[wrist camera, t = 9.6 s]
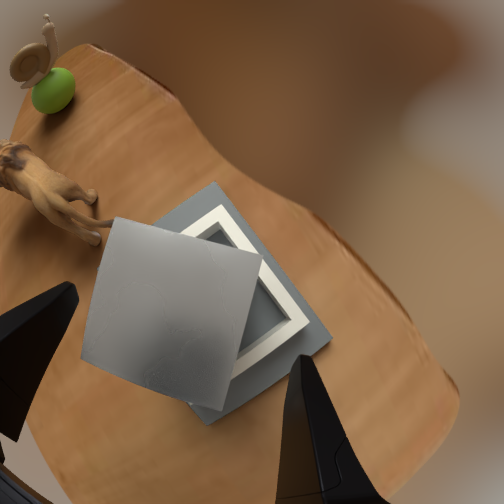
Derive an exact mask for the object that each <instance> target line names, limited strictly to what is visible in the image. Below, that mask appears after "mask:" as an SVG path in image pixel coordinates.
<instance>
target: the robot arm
mask: <svg viewBox="0 0 504 504" xmlns="http://www.w3.org/2000/svg"><path fill="white" fill-rule="evenodd" d="M78 303H79V296H78V293H77V290H76V286H75V285H74V284H73V283H71V282H68V281H66V282H63V283H61V284H59V285H57V286H55V287H53V288H51V289H49V290H47V291H45V292H43V293H41V294H40V295H38V296H36V297H34V298H32V299H30V300H28V301H26V302H24V303H22V304H21V305H19V306H17V307H15V308H13V309H11V310H9V311H8V312H6V313H4V314H2V315H1V316H0V433H2V434H3V435H5V436H6V437H8V438H10V439H11V440H13V441H15V442H17V441H18V439H19V436H20V432H21V430H22V427H23V424H24V421H25V419H26V416H27V413H28V411H29V408H30V406H31V403H32V401H33V398H34V396H35V394H36V391H37V389H38V387H39V384H40V382H41V380H42V378H43V376H44V373H45V371H46V369H47V367H48V365H49V363H50V361H51V359H52V357H53V355H54V353H55V351H56V349H57V347H58V345H59V344H60V342H61V340H62V338H63V336H64V334H65V332H66V330H67V328H68V325H69V323H70V321H71V318H72V316H73V314H74V312H75V310H76V307H77V305H78ZM4 460H5V457H4V453H3V450H2V446H1V442H0V504H53V503H52V502H50V501H49V500H47V499H46V498H44V497H43V496H41V495H40V494H39V493H37V492H36V491H35V490H33V489H32V488H30V487H29V486H28V485H27V484H25V483H24V482H23V481H22V480H20V479H19V478H18V477H17V476H16V475H14V474H13V473H12V472H11V471H9V470H8V469H7V468H6V467H5V466H4V465H3V463H4ZM275 504H390V503H389V502H387V501H386V500H385V499H383V498H382V497H381V496H380V495H379V494H378V492H377V491H376V489H375V488H374V486H373V485H372V483H371V481H370V480H369V478H368V476H367V475H366V473H365V471H364V470H363V468H362V466H361V464H360V463H359V461H358V459H357V457H356V455H355V453H354V451H353V449H352V447H351V445H350V442H349V440H348V438H347V437H346V433H345V431H344V429H343V427H342V424H341V422H340V420H339V418H338V415H337V413H336V411H335V409H334V406H333V404H332V402H331V400H330V397H329V395H328V393H327V391H326V388H325V386H324V384H323V382H322V379H321V377H320V375H319V373H318V370H317V368H316V366H315V364H314V362H313V359H312V357H311V356H310V355H305V354H299V355H298V357H297V358H296V360H295V362H294V363H293V365H292V367H291V371H290V376H289V382H288V387H287V393H286V398H285V404H284V412H283V427H282V440H281V452H280V463H279V474H278V483H277V493H276V501H275Z"/></svg>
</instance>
